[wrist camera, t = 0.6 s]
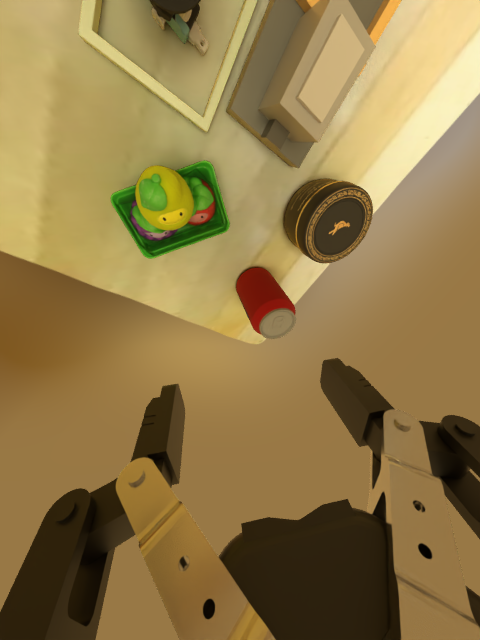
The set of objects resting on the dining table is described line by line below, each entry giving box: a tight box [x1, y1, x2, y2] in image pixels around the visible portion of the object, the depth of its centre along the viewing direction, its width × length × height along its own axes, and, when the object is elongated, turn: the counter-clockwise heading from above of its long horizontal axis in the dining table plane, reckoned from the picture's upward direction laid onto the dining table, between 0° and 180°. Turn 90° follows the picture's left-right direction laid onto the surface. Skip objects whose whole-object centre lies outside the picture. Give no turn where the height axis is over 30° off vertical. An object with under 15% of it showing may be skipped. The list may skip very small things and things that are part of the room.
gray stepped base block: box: [226, 0, 402, 168], centre depth 19 cm, size 10×20×9 cm, turn 149°
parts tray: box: [78, 0, 258, 132], centre depth 19 cm, size 12×12×2 cm
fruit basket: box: [111, 160, 230, 259], centre depth 24 cm, size 11×9×11 cm
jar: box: [285, 179, 373, 263], centre depth 31 cm, size 10×10×8 cm
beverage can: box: [236, 268, 296, 339], centre depth 35 cm, size 7×7×12 cm
